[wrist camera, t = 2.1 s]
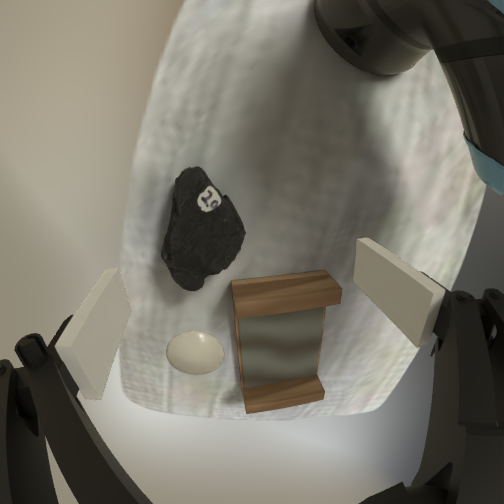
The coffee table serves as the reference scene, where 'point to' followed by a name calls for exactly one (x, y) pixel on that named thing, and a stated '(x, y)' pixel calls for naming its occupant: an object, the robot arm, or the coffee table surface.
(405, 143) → the coffee table surface
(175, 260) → the mineral
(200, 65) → the coffee table surface
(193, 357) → the cream glossy rounded part
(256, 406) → the rest
